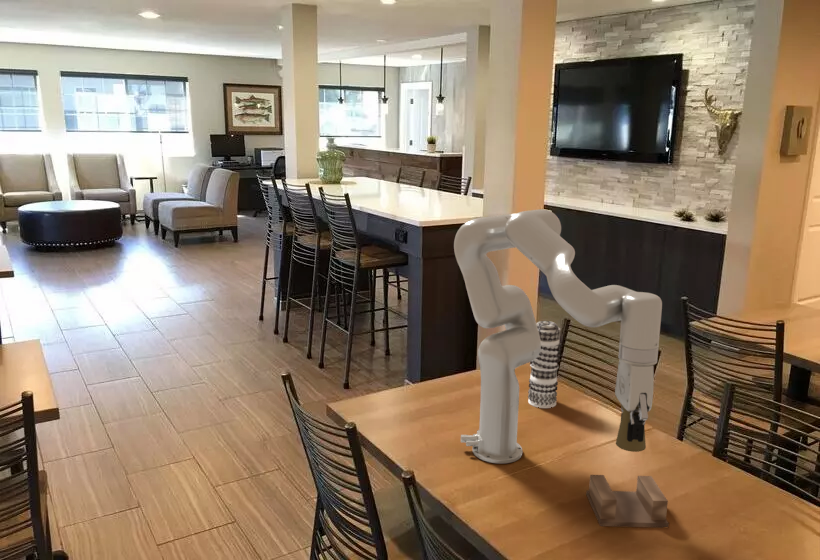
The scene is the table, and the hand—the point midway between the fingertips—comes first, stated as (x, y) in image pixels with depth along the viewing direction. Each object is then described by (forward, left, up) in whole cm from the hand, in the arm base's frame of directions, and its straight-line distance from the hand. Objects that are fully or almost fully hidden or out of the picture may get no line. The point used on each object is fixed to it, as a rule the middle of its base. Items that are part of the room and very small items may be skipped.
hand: (631, 435), depth 136 cm
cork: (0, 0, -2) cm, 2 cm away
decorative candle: (-8, +57, -18) cm, 60 cm away
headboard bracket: (0, 0, -18) cm, 18 cm away
